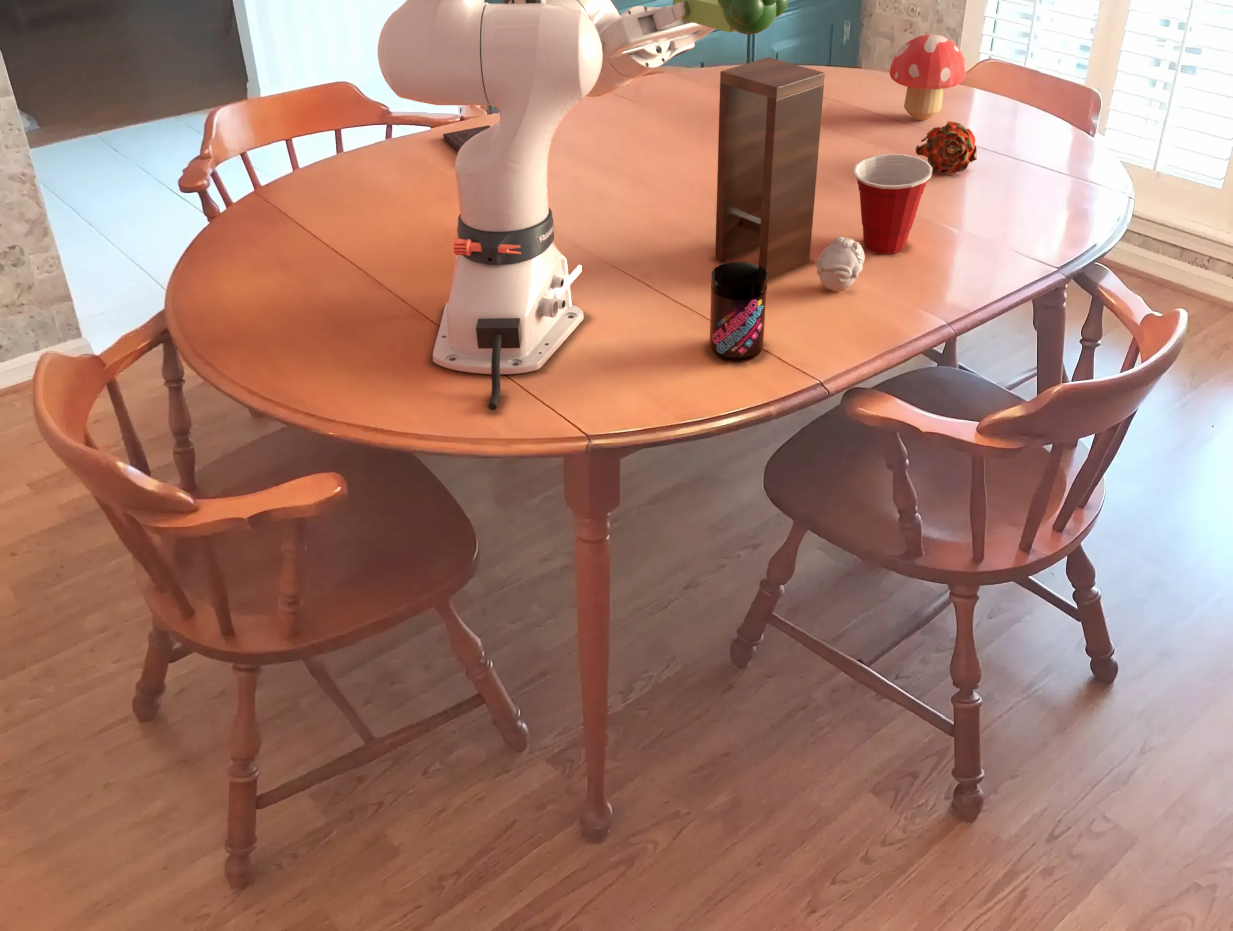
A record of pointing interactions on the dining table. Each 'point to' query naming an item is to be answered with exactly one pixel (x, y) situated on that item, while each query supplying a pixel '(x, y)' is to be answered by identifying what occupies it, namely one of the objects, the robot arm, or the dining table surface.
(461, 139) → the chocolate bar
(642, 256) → the dining table surface
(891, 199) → the plastic cup
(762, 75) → the wooden stand
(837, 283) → the white rounded carved piece
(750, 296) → the supplement container
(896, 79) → the decorative mushroom
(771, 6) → the broccoli
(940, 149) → the dragon fruit
